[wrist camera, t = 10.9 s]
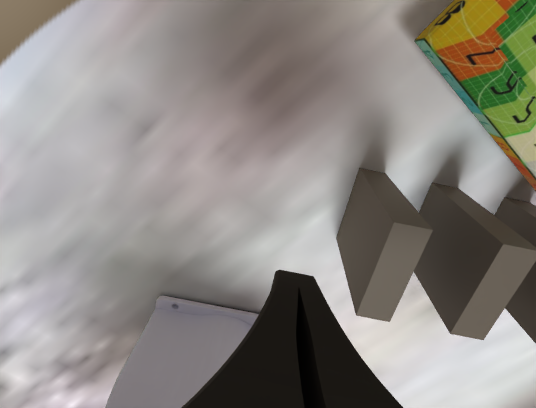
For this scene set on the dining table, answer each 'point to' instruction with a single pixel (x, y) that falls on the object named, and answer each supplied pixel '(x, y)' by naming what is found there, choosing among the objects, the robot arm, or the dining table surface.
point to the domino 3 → (532, 287)
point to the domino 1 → (379, 244)
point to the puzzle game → (491, 69)
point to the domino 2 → (469, 261)
